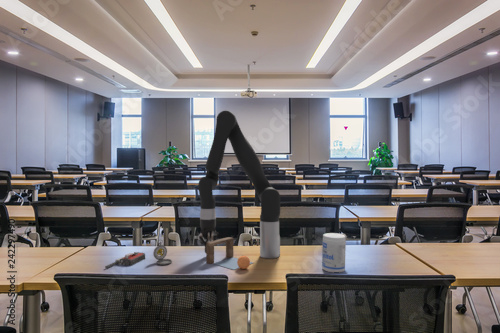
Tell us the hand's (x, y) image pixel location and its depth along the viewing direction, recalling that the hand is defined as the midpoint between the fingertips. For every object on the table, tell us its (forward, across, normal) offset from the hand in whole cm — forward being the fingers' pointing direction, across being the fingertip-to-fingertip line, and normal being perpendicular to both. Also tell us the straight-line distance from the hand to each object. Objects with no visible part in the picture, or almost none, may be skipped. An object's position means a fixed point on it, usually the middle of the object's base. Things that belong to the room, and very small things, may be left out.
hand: (208, 253), depth 163 cm
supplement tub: (+2, +22, -55) cm, 59 cm away
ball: (-1, -2, -26) cm, 26 cm away
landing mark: (+2, 0, -17) cm, 17 cm away
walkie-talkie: (+2, -31, +20) cm, 37 cm away
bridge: (+2, 0, -8) cm, 9 cm away
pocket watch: (+2, -20, +8) cm, 22 cm away
